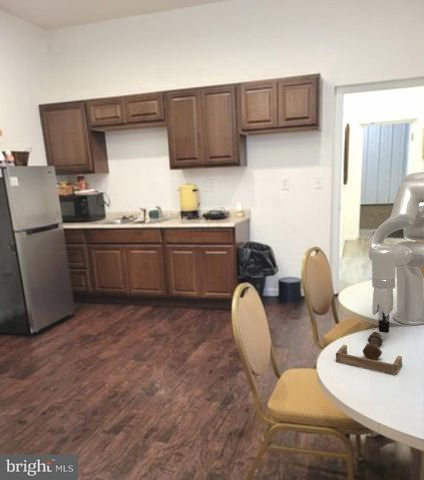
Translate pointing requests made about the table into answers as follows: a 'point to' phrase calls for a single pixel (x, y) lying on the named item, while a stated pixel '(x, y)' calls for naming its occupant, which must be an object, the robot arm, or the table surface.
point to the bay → (368, 362)
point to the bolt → (373, 346)
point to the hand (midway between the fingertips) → (384, 331)
